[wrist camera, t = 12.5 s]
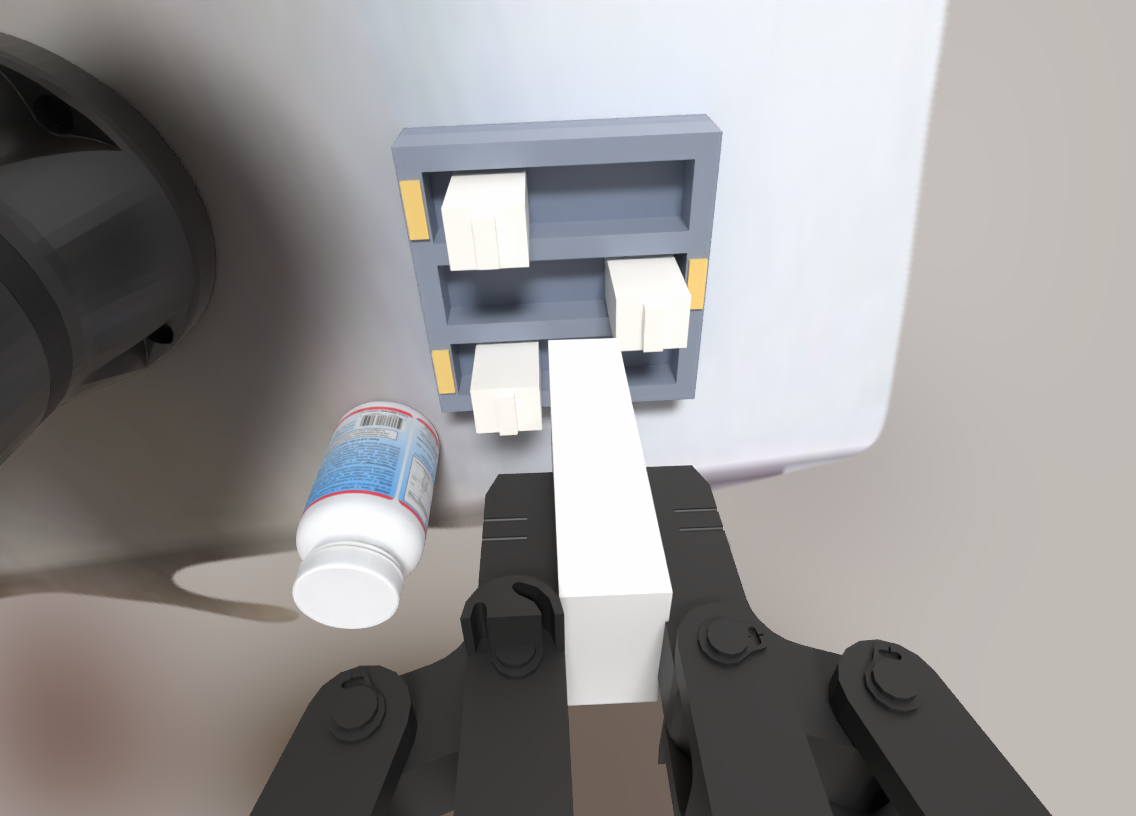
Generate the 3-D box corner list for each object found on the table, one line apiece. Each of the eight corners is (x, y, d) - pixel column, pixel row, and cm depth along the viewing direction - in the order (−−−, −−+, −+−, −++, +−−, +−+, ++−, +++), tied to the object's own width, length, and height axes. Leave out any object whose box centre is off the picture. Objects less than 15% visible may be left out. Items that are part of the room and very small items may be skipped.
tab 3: (604, 295, 31) (616, 357, 27) (604, 248, 30) (617, 306, 25) (666, 292, 31) (689, 354, 27) (669, 245, 30) (693, 301, 25)
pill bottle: (318, 449, 38) (252, 612, 29) (365, 379, 35) (306, 534, 26) (411, 491, 40) (376, 653, 31) (461, 428, 37) (439, 586, 28)
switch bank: (448, 379, 35) (441, 414, 33) (403, 128, 27) (390, 148, 25) (683, 366, 35) (695, 400, 33) (705, 113, 28) (723, 132, 25)
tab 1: (462, 221, 29) (449, 276, 24) (454, 166, 27) (439, 213, 23) (529, 218, 29) (529, 272, 24) (525, 163, 27) (524, 209, 23)
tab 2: (483, 371, 33) (475, 440, 29) (478, 331, 32) (469, 397, 27) (541, 368, 33) (542, 436, 29) (538, 328, 32) (539, 393, 27)
